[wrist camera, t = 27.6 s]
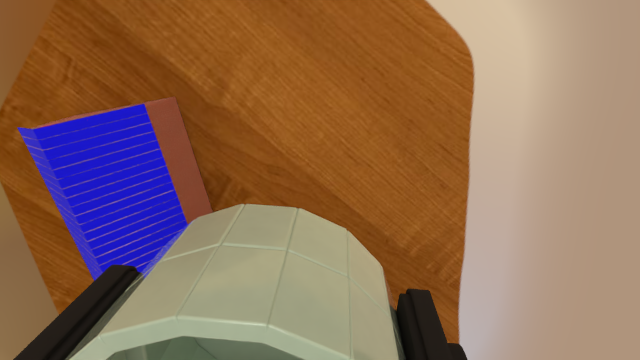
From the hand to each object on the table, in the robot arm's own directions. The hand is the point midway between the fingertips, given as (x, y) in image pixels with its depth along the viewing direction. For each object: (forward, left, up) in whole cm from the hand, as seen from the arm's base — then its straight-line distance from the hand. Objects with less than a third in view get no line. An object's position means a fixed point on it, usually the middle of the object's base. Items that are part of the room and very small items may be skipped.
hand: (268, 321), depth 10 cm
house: (+18, +10, -28) cm, 35 cm away
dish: (0, 0, -1) cm, 1 cm away
